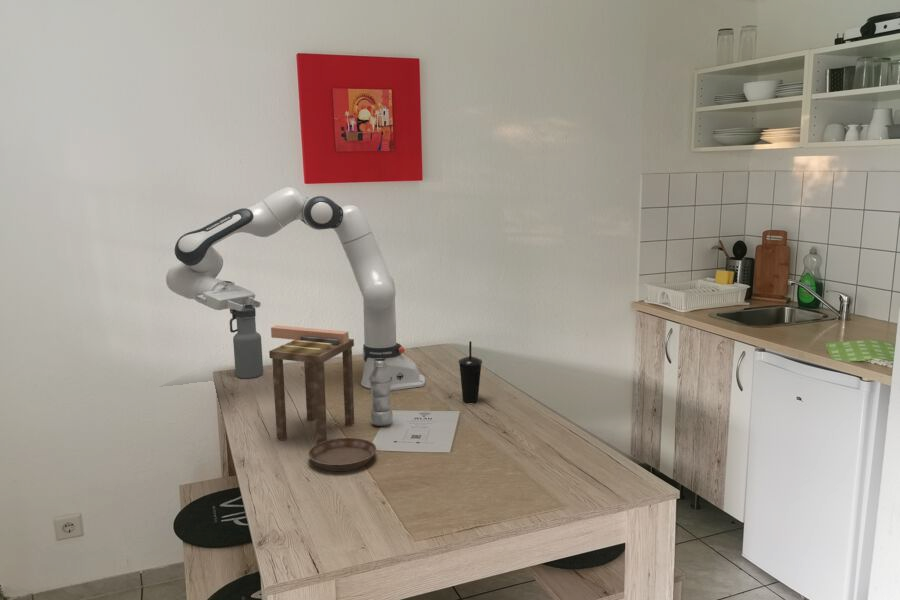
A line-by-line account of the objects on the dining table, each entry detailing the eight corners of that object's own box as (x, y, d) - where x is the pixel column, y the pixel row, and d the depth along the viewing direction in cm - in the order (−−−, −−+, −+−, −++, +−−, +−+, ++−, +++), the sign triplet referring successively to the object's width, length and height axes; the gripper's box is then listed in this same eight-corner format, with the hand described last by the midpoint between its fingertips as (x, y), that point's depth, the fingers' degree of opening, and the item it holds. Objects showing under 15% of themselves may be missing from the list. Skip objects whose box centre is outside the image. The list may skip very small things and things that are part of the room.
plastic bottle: (389, 429, 206) (388, 363, 202) (367, 427, 207) (365, 362, 203) (395, 421, 212) (394, 357, 208) (374, 419, 213) (372, 356, 209)
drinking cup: (482, 397, 233) (482, 338, 229) (481, 405, 225) (481, 345, 221) (459, 396, 233) (459, 338, 229) (457, 404, 226) (457, 344, 222)
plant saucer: (303, 452, 191) (303, 442, 190) (367, 443, 197) (367, 433, 196) (315, 480, 174) (314, 468, 174) (384, 469, 180) (384, 457, 180)
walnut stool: (274, 440, 199) (268, 345, 193) (309, 417, 216) (305, 330, 211) (324, 447, 193) (320, 351, 188) (356, 423, 211) (353, 334, 205)
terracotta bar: (271, 337, 208) (270, 327, 207) (277, 335, 211) (276, 325, 210) (343, 344, 200) (343, 334, 199) (348, 341, 203) (348, 331, 202)
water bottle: (229, 377, 255) (223, 302, 250) (244, 370, 264) (239, 296, 259) (253, 380, 252) (249, 303, 247) (268, 372, 261) (264, 298, 256)
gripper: (194, 285, 210) (234, 300, 206) (233, 280, 229) (270, 294, 226) (190, 305, 211) (229, 320, 208) (229, 299, 230) (265, 312, 227)
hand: (251, 306), depth 217 cm, fingers open, 8 cm apart
